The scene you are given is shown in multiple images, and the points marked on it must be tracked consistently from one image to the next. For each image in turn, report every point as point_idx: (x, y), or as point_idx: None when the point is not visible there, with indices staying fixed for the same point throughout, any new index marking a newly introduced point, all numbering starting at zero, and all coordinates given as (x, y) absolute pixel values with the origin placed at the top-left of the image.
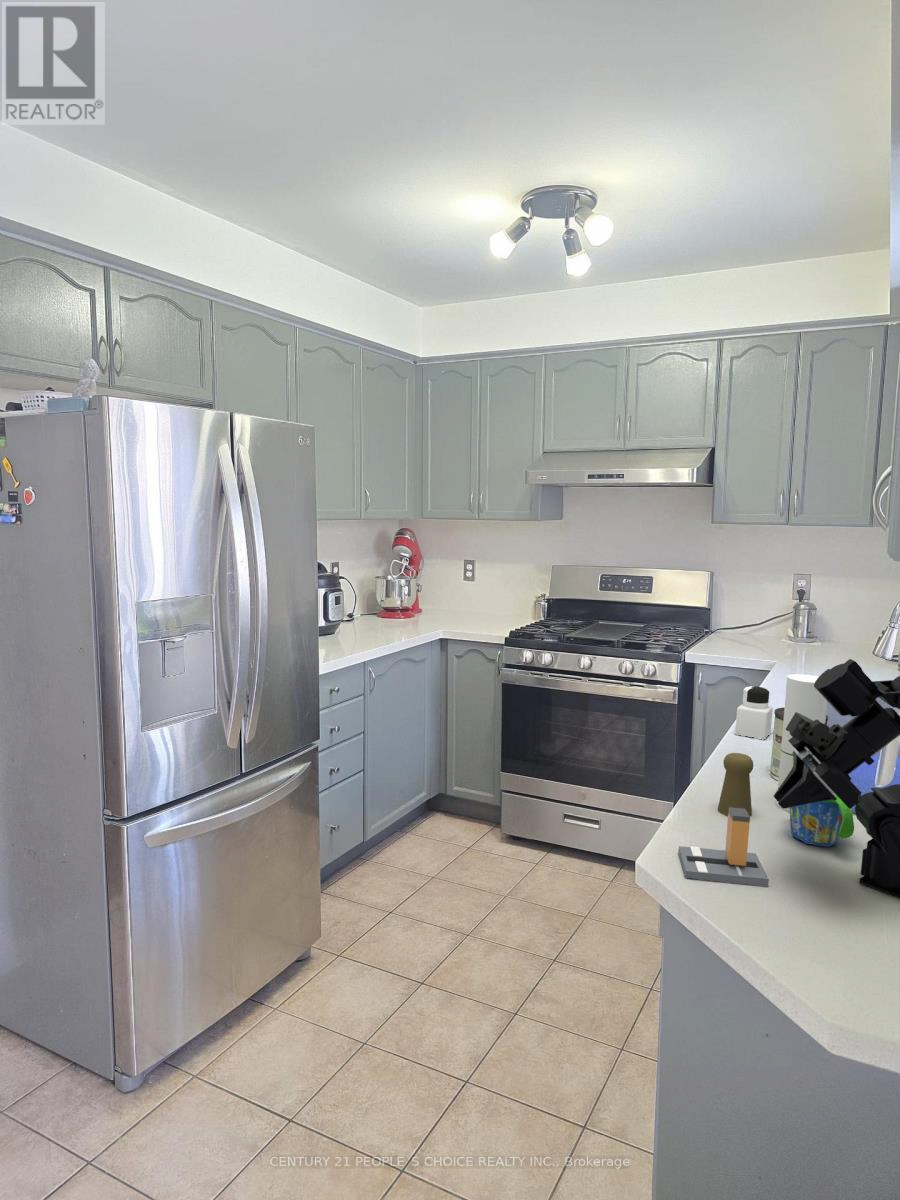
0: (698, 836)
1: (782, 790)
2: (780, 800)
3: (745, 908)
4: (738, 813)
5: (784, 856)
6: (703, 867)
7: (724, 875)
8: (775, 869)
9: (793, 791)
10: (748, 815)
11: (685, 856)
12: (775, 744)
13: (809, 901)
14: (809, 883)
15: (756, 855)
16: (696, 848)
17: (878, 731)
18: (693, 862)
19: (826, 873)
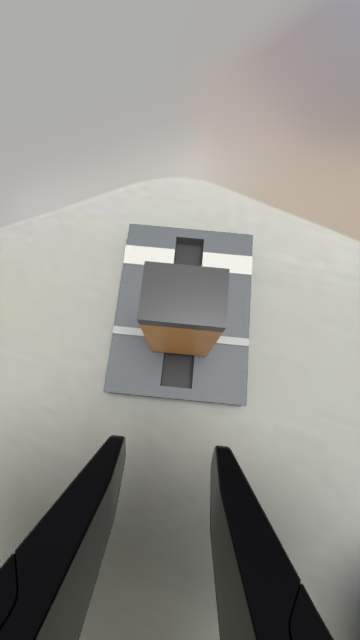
0: (353, 306)
1: (217, 503)
2: (114, 448)
3: (13, 314)
4: (171, 287)
5: (282, 495)
6: (145, 259)
7: (118, 296)
8: (200, 442)
9: (28, 539)
10: (154, 319)
11: (200, 237)
12: None
13: (42, 468)
14: (133, 506)
15: (232, 403)
16: (242, 267)
17: None
18: (171, 246)
19: (196, 583)
